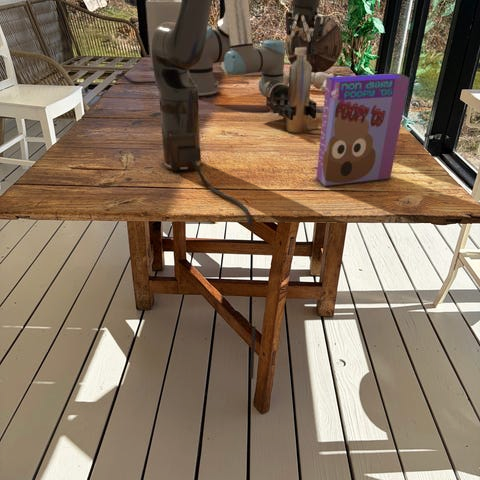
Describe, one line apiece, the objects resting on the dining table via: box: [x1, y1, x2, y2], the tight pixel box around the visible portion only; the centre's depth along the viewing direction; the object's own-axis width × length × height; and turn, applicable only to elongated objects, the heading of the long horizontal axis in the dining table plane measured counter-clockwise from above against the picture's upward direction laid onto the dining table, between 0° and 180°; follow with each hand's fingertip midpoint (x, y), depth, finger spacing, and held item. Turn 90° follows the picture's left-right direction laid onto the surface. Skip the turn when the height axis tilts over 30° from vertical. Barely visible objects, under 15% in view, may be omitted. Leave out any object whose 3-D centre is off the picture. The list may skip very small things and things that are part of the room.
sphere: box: [284, 12, 344, 73], centre depth 209 cm, size 25×25×25 cm
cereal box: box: [315, 73, 410, 187], centre depth 109 cm, size 17×5×24 cm, turn 106°
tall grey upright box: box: [145, 0, 181, 70], centre depth 219 cm, size 19×15×28 cm
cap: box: [295, 47, 307, 55], centre depth 136 cm, size 4×4×2 cm
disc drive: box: [220, 62, 262, 77], centre depth 217 cm, size 18×22×5 cm
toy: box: [283, 71, 342, 93], centre depth 188 cm, size 24×25×7 cm
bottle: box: [285, 55, 312, 134], centre depth 142 cm, size 6×6×23 cm
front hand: (302, 53), depth 136 cm, fingers open, 5 cm apart
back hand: (303, 114), depth 140 cm, fingers closed on bottle, 6 cm apart
